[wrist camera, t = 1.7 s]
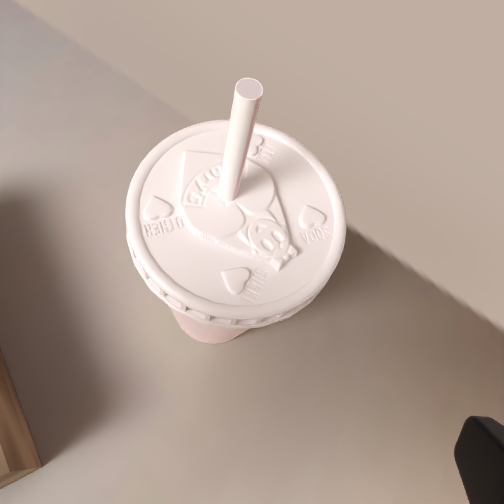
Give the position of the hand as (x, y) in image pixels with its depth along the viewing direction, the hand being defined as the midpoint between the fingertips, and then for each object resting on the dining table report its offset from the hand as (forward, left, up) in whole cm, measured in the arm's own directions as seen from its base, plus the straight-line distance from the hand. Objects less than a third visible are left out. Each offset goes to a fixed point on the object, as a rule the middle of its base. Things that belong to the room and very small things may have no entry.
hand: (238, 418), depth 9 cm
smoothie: (+5, -3, -12) cm, 14 cm away
